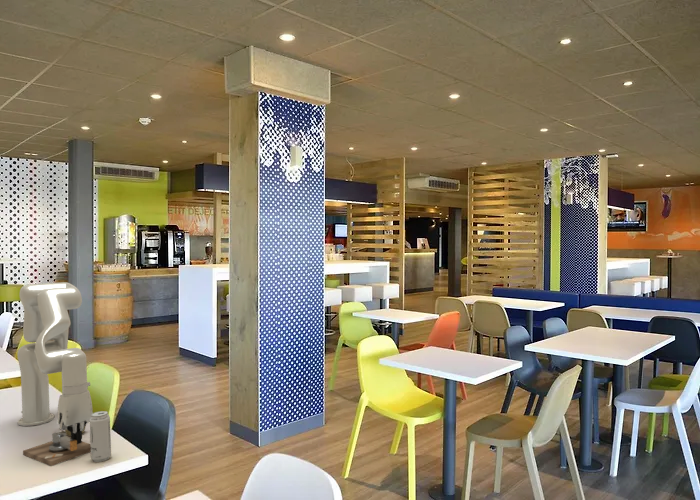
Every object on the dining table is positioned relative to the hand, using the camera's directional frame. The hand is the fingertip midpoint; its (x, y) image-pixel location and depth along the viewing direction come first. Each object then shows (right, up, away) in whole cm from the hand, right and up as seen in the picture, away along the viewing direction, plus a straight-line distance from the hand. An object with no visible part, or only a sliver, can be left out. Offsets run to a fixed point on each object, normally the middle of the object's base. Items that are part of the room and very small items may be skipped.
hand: (76, 442), depth 179 cm
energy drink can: (+11, -4, -5) cm, 12 cm away
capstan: (-4, -2, -1) cm, 4 cm away
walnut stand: (-7, -4, +2) cm, 8 cm away
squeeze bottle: (-11, -4, +20) cm, 23 cm away
